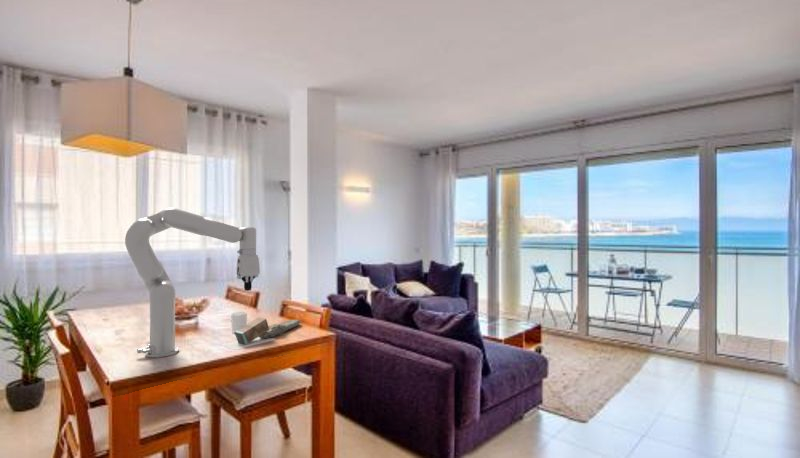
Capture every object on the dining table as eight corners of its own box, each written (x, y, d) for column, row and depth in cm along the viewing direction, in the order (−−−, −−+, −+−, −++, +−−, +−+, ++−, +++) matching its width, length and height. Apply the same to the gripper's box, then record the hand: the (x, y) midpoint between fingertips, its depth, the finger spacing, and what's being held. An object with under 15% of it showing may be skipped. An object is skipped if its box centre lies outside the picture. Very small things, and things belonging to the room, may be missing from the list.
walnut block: (241, 333, 190) (266, 318, 200) (234, 331, 193) (258, 317, 204) (245, 345, 191) (269, 329, 202) (238, 342, 195) (261, 327, 206)
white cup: (237, 335, 209) (237, 315, 209) (227, 333, 214) (227, 314, 213) (250, 331, 216) (250, 313, 216) (240, 329, 220) (240, 311, 220)
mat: (234, 350, 184) (234, 349, 184) (221, 345, 191) (221, 344, 191) (276, 340, 201) (276, 339, 201) (262, 335, 209) (262, 335, 209)
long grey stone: (305, 326, 233) (289, 326, 235) (305, 317, 233) (289, 317, 235) (270, 339, 199) (252, 338, 201) (270, 328, 199) (252, 327, 202)
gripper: (237, 253, 190) (237, 293, 190) (265, 252, 202) (265, 289, 202) (229, 252, 195) (229, 291, 195) (257, 251, 206) (257, 287, 207)
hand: (247, 290), depth 198 cm, fingers closed
